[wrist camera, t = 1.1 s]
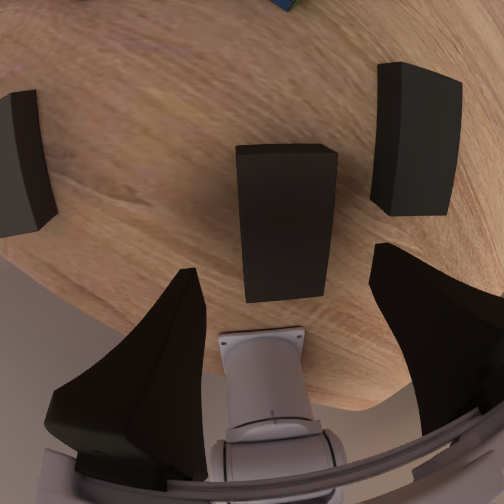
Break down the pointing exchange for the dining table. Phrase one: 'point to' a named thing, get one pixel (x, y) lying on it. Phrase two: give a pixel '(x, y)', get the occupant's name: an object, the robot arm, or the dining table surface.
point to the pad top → (285, 218)
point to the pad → (22, 168)
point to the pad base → (415, 140)
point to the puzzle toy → (286, 4)
